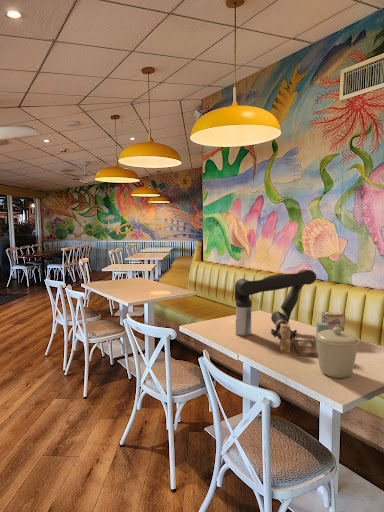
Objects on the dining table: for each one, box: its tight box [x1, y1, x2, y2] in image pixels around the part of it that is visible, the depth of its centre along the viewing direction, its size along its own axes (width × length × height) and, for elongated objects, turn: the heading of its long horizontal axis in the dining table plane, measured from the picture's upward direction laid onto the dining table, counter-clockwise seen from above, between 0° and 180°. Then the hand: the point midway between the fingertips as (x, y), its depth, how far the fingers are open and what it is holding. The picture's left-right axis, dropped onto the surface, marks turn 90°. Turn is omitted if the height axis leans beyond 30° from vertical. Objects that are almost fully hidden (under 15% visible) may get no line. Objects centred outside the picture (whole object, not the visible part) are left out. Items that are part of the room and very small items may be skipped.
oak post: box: [279, 323, 291, 354], centre depth 172 cm, size 4×4×14 cm
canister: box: [314, 327, 361, 379], centre depth 147 cm, size 18×18×21 cm
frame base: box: [292, 321, 328, 358], centre depth 174 cm, size 16×18×16 cm
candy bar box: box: [321, 311, 346, 331], centre depth 186 cm, size 11×5×16 cm, turn 84°
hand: (285, 338), depth 170 cm, fingers closed on oak post, 4 cm apart
